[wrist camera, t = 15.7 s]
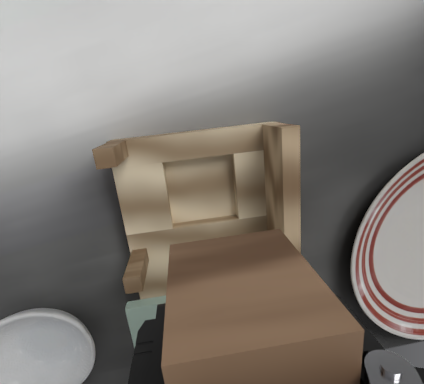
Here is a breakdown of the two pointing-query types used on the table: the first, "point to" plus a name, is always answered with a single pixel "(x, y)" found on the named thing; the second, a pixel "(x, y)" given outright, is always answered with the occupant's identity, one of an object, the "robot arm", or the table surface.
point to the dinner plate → (393, 255)
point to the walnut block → (254, 316)
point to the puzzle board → (201, 191)
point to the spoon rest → (45, 348)
